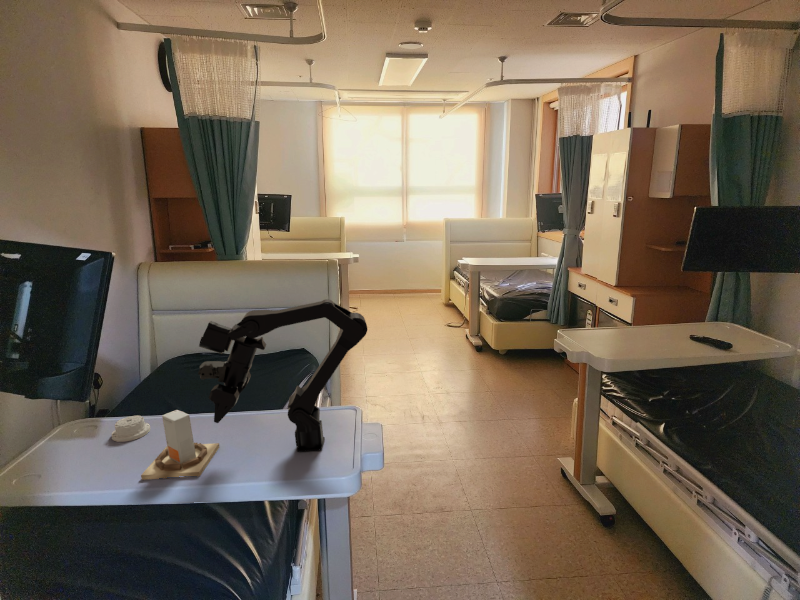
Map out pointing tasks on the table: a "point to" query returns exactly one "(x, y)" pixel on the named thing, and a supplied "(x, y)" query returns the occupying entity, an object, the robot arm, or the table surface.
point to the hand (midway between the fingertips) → (220, 414)
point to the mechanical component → (130, 429)
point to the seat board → (171, 468)
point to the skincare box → (179, 436)
